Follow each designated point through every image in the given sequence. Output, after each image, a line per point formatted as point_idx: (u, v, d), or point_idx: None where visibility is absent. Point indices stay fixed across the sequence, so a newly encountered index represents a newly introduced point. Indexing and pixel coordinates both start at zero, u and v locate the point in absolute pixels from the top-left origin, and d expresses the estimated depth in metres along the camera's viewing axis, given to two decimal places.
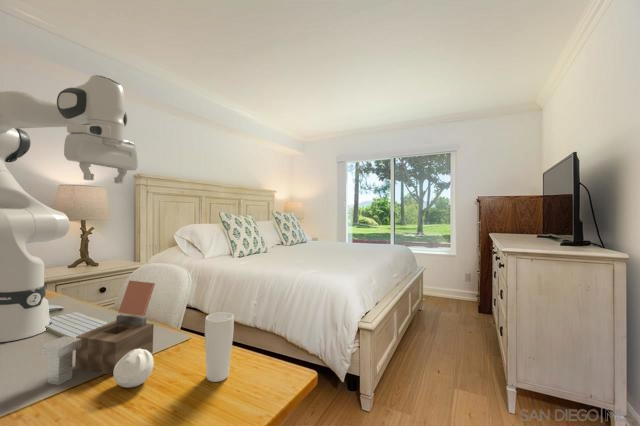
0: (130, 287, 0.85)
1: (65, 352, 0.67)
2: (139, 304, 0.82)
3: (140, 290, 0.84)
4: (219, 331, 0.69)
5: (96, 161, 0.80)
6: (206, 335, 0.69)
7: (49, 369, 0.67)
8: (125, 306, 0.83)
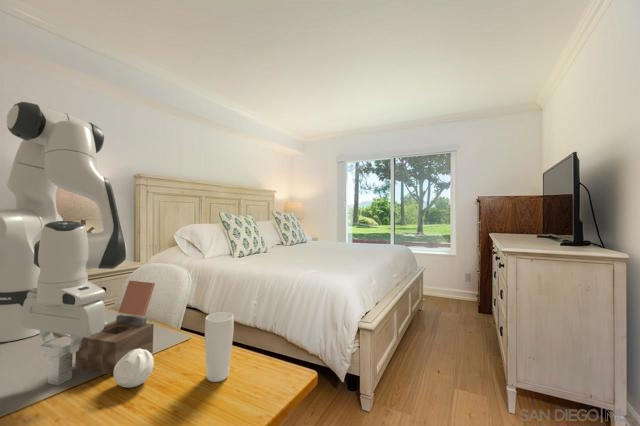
0: (130, 287, 0.85)
1: (65, 352, 0.66)
2: (139, 304, 0.82)
3: (140, 290, 0.84)
4: (219, 331, 0.69)
5: None
6: (206, 335, 0.69)
7: (49, 369, 0.67)
8: (125, 306, 0.83)
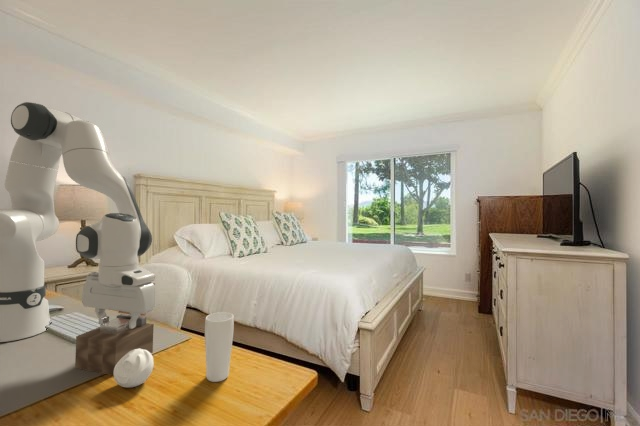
0: None
1: (122, 331, 0.76)
2: None
3: None
4: (219, 331, 0.69)
5: None
6: (206, 335, 0.69)
7: None
8: None
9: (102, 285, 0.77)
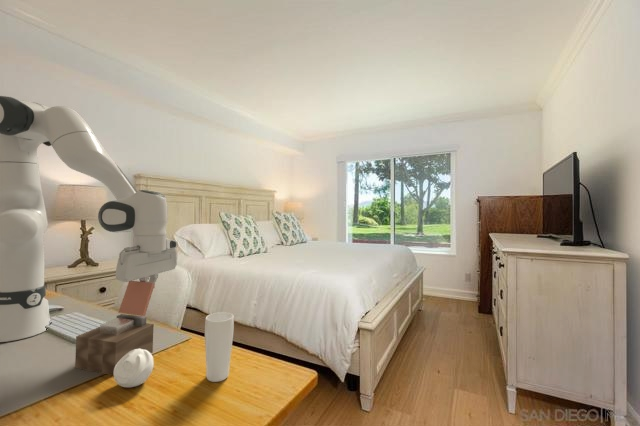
0: (130, 287, 0.85)
1: (122, 331, 0.76)
2: (139, 304, 0.82)
3: (140, 290, 0.84)
4: (219, 331, 0.69)
5: None
6: (206, 335, 0.69)
7: None
8: (125, 306, 0.83)
9: (146, 255, 0.85)
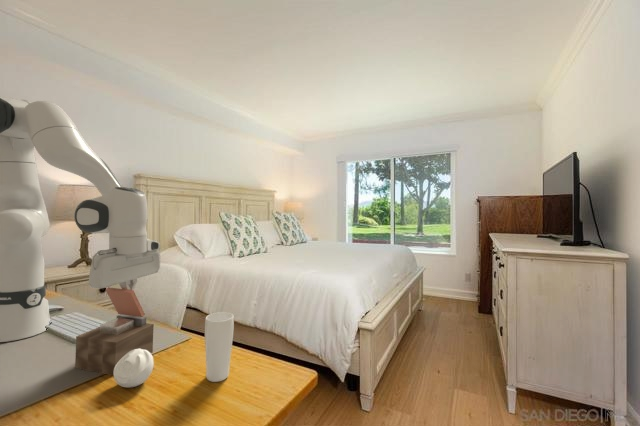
0: (111, 295, 0.79)
1: (122, 331, 0.76)
2: (132, 309, 0.80)
3: (123, 298, 0.79)
4: (219, 331, 0.69)
5: None
6: (206, 335, 0.69)
7: None
8: (120, 309, 0.82)
9: (124, 258, 0.77)
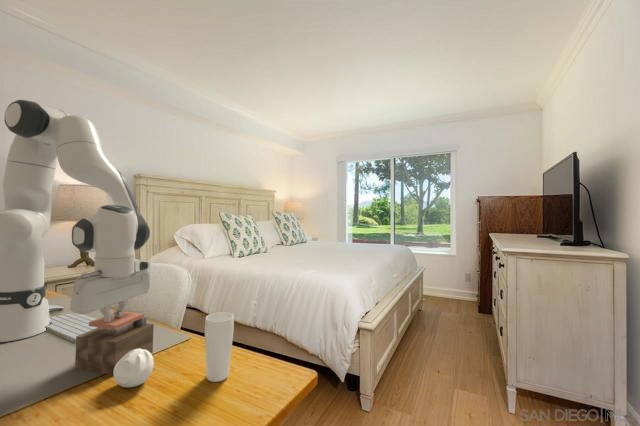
0: None
1: (122, 331, 0.76)
2: None
3: None
4: (219, 331, 0.69)
5: None
6: (206, 335, 0.69)
7: None
8: None
9: (109, 281, 0.73)
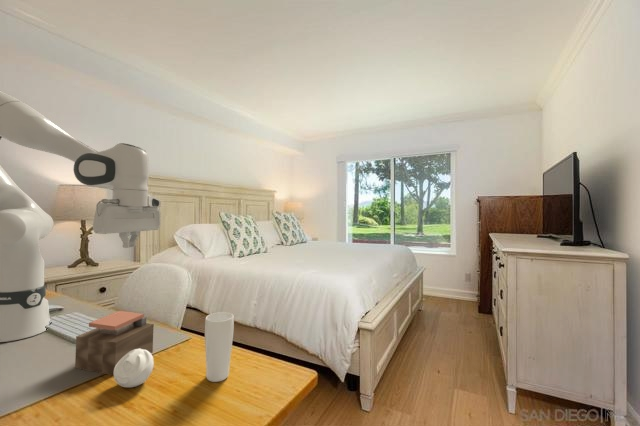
0: None
1: (122, 331, 0.76)
2: None
3: None
4: (219, 331, 0.69)
5: None
6: (206, 335, 0.69)
7: None
8: None
9: (126, 210, 0.82)
